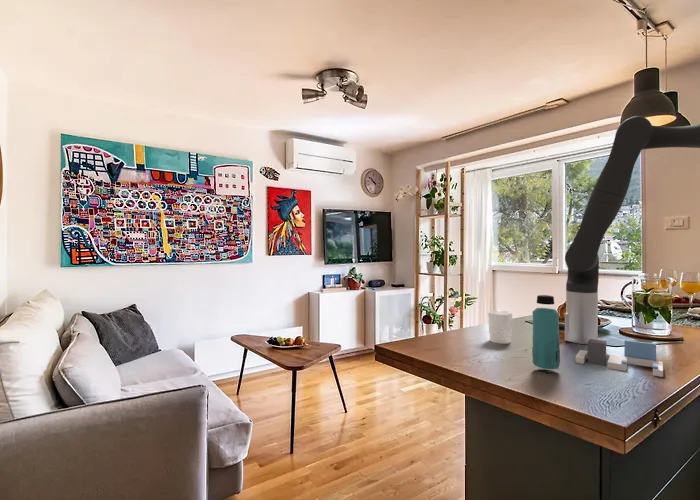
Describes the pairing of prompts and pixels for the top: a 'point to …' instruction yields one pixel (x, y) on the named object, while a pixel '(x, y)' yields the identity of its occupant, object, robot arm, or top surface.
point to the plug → (597, 352)
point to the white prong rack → (630, 357)
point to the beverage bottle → (545, 335)
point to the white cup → (500, 326)
